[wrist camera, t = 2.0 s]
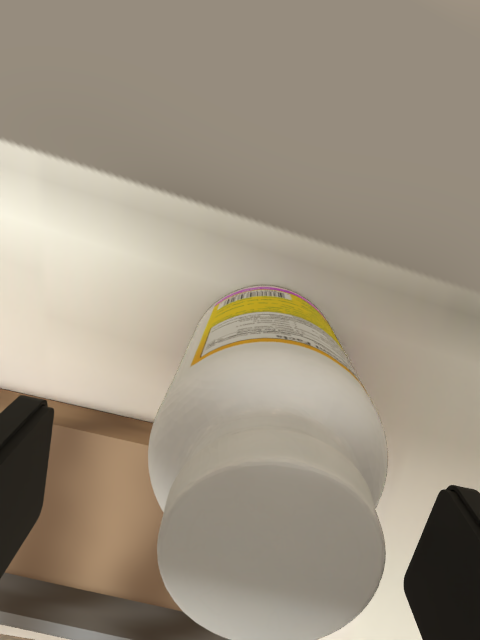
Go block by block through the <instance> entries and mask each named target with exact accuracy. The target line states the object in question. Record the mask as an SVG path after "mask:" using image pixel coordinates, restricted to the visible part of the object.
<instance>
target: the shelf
mask: <svg viewBox="0 0 480 640" xmlns="http://www.w3.org/2000/svg"><path fill="white" fill-rule="evenodd" d="M20 395H25V396H30V395H26V394H22V393H17V392H13V391H8V390H4V389H0V413H1V412H2V411H3V410H4V409H5V408H6V407H7V406H9V405H10V404H11V403H12V402H13V401H14V400H15V399H16V398H17V397H18V396H20ZM30 397H35V396H30ZM35 398H39V397H35ZM40 399H44V398H40ZM44 400H46V401H47V403H48V407H52V408H53V409H54V420H53V428H52V436H51V444H50V452H49V460H48V469H47V477H46V485H45V493H44V501H43V507H42V510H41V513H40V516H39V518H38V520H37V522H36V523H35V525H34V526H33V528H32V530H31V531H30V533H29V534H28V536H27V538H26V539H25V541H24V542H23V544H22V545H21V547H20V549H19V550H18V552H17V553H16V555H15V557H14V558H13V560H12V561H11V563H10V565H9V566H8V568H7V569H6V571H5V573H4V574H3V576H2V577H1V579H0V624H1V625H6V626H10V627H15V628H20V629H24V630H29V631H34V632H38V633H43V634H47V635H52V636H57V637H61V638H66V639H71V640H230V639H227V638H224V637H221V636H219V635H217V634H215V633H213V632H211V631H209V630H207V629H206V628H204V627H202V626H201V625H199V624H198V623H196V622H195V621H194V620H192V619H191V618H190V617H189V616H188V615H186V614H185V613H184V612H183V611H182V610H181V609H180V607H179V606H178V605H177V604H176V603H175V601H174V600H173V598H172V597H171V595H170V594H169V592H168V591H167V589H166V587H165V585H164V582H163V579H162V576H161V574H160V570H159V565H158V556H157V543H158V534H159V529H160V525H161V521H162V517H163V513H164V512H163V511H162V509H161V507H160V505H159V503H158V501H157V499H156V496H155V494H154V491H153V488H152V484H151V480H150V474H149V467H148V447H149V439H150V434H151V430H152V426H153V423H150V422H146V421H141V420H137V419H132V418H128V417H123V416H119V415H115V414H110V413H106V412H101V411H97V410H92V409H88V408H84V407H79V406H75V405H70V404H66V403H61V402H57V401H53V400H48V399H44Z"/></svg>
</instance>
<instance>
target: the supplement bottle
mask: <svg viewBox="0 0 480 640" xmlns="http://www.w3.org/2000/svg"><path fill="white" fill-rule="evenodd" d="M387 466H388V451H387V443H386V437H385V432H384V429H383V426H382V423H381V420H380V417H379V415H378V413H377V410H376V409H375V407H374V405H373V403H372V401H371V399H370V397H369V395H368V394H367V392H366V390H365V389H364V387H363V385H362V383H361V381H360V380H359V378H358V376H357V374H356V373H355V371H354V369H353V367H352V365H351V363H350V362H349V360H348V358H347V356H346V354H345V353H344V351H343V349H342V347H341V345H340V343H339V342H338V340H337V338H336V336H335V334H334V332H333V330H332V329H331V327H330V325H329V323H328V322H327V320H326V319H325V317H324V316H323V315H322V313H321V312H320V311H319V310H318V309H317V308H316V307H315V306H314V305H313V304H312V303H311V302H309V301H308V300H307V299H305V298H304V297H302V296H300V295H299V294H297V293H295V292H293V291H290V290H287V289H284V288H280V287H275V286H252V287H247V288H243V289H240V290H237V291H234V292H232V293H230V294H228V295H226V296H225V297H223V298H221V299H220V300H219V301H217V302H216V303H215V304H214V305H213V306H211V307H210V308H209V310H208V311H207V312H206V313H205V314H204V316H203V317H202V319H201V320H200V322H199V324H198V326H197V328H196V330H195V332H194V334H193V337H192V339H191V341H190V343H189V345H188V347H187V350H186V352H185V354H184V357H183V359H182V361H181V363H180V366H179V368H178V370H177V372H176V374H175V377H174V379H173V381H172V383H171V385H170V387H169V389H168V392H167V394H166V396H165V398H164V400H163V402H162V404H161V406H160V408H159V410H158V412H157V415H156V417H155V420H154V423H153V426H152V430H151V434H150V439H149V447H148V467H149V474H150V480H151V484H152V488H153V491H154V494H155V496H156V499H157V501H158V503H159V505H160V507H161V509H162V511H163V512H164V513H163V517H162V521H161V525H160V529H159V534H158V543H157V556H158V565H159V570H160V574H161V576H162V579H163V582H164V585H165V587H166V589H167V591H168V592H169V594H170V595H171V597H172V598H173V600H174V601H175V603H176V604H177V605H178V606H179V607H180V609H181V610H182V611H183V612H184V613H185V614H186V615H188V616H189V617H190V618H191V619H192V620H194V621H195V622H196V623H198V624H199V625H201V626H202V627H204V628H206V629H207V630H209V631H211V632H213V633H215V634H217V635H219V636H221V637H224V638H227V639H230V640H317V639H320V638H322V637H325V636H327V635H329V634H331V633H333V632H335V631H337V630H339V629H341V628H342V627H344V626H345V625H346V624H348V623H349V622H351V621H352V620H353V619H354V618H355V617H356V616H358V615H359V614H360V613H361V612H362V611H363V609H364V608H365V607H366V606H367V605H368V603H369V602H370V601H371V599H372V597H373V596H374V594H375V592H376V590H377V588H378V586H379V583H380V580H381V578H382V575H383V571H384V565H385V555H386V552H385V542H384V535H383V531H382V528H381V524H380V521H379V519H378V516H377V513H376V510H375V508H376V507H377V504H378V502H379V500H380V497H381V495H382V492H383V488H384V485H385V481H386V476H387Z"/></svg>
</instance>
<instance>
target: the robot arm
mask: <svg viewBox="0 0 480 640" xmlns="http://www.w3.org/2000/svg"><path fill="white" fill-rule="evenodd" d="M53 420H54V409H53V408H52V407H48V403H47V401H46V400H44V399H40V398H35V397H30V396H25V395H20V396H18V397H17V398H16V399H15V400H14V401H13V402H12V403H11V404H10V405H9V406H7V407H6V408H5V409H4V410H3V411H2V412H1V413H0V579H1V577H2V576H3V574H4V573H5V571H6V569H7V568H8V566H9V565H10V563H11V561H12V560H13V558H14V557H15V555H16V553H17V552H18V550H19V549H20V547H21V545H22V544H23V542H24V541H25V539H26V538H27V536H28V534H29V533H30V531H31V530H32V528H33V526H34V525H35V523H36V522H37V520H38V518H39V516H40V513H41V510H42V507H43V501H44V493H45V485H46V477H47V469H48V460H49V452H50V444H51V436H52V428H53ZM404 591H405V595H406V597H407V600H408V602H409V605H410V608H411V610H412V613H413V615H414V618H415V621H416V623H417V626H418V628H419V631H420V634H421V636H422V639H423V640H480V493H479V492H478V491H477V490H474V489H469V488H464V487H460V486H455V485H451V486H449V487H448V488H447V489H446V490H441V491H440V492H439V494H438V496H437V499H436V501H435V504H434V506H433V508H432V511H431V513H430V516H429V518H428V521H427V523H426V525H425V528H424V530H423V533H422V535H421V538H420V540H419V542H418V545H417V547H416V550H415V552H414V555H413V557H412V559H411V562H410V564H409V567H408V569H407V572H406V574H405V577H404ZM0 640H33V639H27V638H21V637H15V636H9V635H3V634H0Z"/></svg>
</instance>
